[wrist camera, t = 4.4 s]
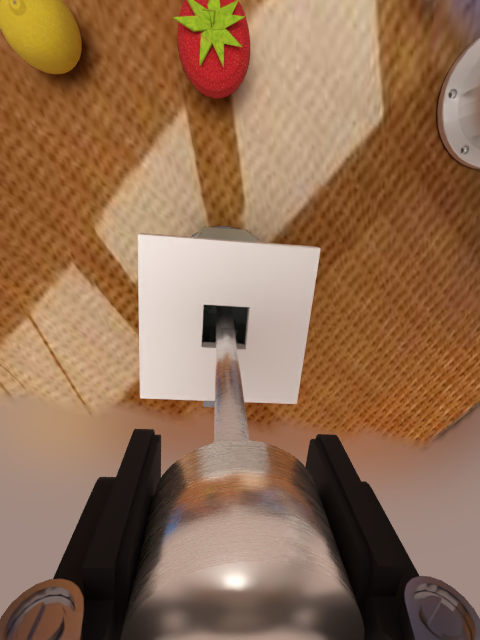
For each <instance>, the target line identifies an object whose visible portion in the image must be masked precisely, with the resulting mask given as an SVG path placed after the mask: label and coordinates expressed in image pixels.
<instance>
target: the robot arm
mask: <svg viewBox="0 0 480 640" xmlns="http://www.w3.org/2000/svg"><path fill="white" fill-rule="evenodd" d="M437 116H438V128H439V132H440V136H441V139H442V141H443V143H444V145H445V148H446V149H447V150H448V152H449V153H450V154H451V156H452V157H454V158H455V159H456V160H457V161H458V162H460V163H461V164H463V165H465V166H467V167H470V168H475V169H480V38H478V39H477V40H476V41H474V42H473V43H472V44H471V45H470V46H468V47H467V48H466V49H465V50H464V51H463V52H462V54H461V55H460V56H459V57H458V58H457V59H456V61H455V62H454V64H453V66H452V67H451V69H450V70H449V72H448V74H447V76H446V79H445V81H444V83H443V86H442V89H441V93H440V97H439V102H438V111H437ZM154 433H155V432H154V430H152V429H151V430H150V429H135V430H134V431H133V434H132V436H131V439H130V442H129V444H128V447H127V450H126V452H125V455H124V458H123V460H122V463H121V466H120V468H119V471H118V474H117V476H116V477H100V478H99V479H98V480H97V482H96V484H95V486H94V488H93V490H92V492H91V495H90V497H89V499H88V501H87V504H86V506H85V508H84V510H83V513H82V515H81V517H80V520H79V522H78V524H77V526H76V529H75V531H74V533H73V535H72V538H71V540H70V542H69V544H68V547H67V549H66V551H65V553H64V555H63V558H62V560H61V562H60V564H59V567H58V569H57V571H56V574H55V576H54V578H53V579H50V580H47V581H44V582H41V583H39V584H36V585H34V586H33V587H31V588H30V589H28V590H26V591H25V592H23V593H22V594H21V595H20V596H19V597H18V598H17V599H16V600H14V601H13V602H12V603H11V605H10V606H9V607H8V609H7V610H6V611H5V613H4V614H3V615H2V616H1V619H0V640H120V639H121V634H122V630H123V625H124V621H125V617H126V612H127V608H128V604H129V600H130V595H131V591H132V587H133V582H134V578H135V573H136V569H137V564H138V560H139V555H140V551H141V547H142V542H143V538H144V533H145V529H146V524H147V520H148V516H149V511H150V507H151V502H152V498H153V494H154V491H155V488H156V486H157V484H158V482H159V480H160V479H161V435H155V434H154ZM306 469H307V470H308V471H309V473H310V474H311V476H312V478H313V480H314V483H315V485H316V488H317V491H318V493H319V496H320V499H321V502H322V505H323V508H324V510H325V513H326V516H327V519H328V522H329V525H330V528H331V530H332V533H333V536H334V539H335V542H336V545H337V548H338V550H339V553H340V556H341V559H342V562H343V565H344V568H345V570H346V573H347V576H348V579H349V582H350V585H351V587H352V590H353V593H354V596H355V599H356V602H357V605H358V607H359V610H360V613H361V616H362V619H363V624H364V640H480V619H479V617H478V615H477V613H476V612H475V610H474V608H473V607H472V606H471V605H470V604H469V602H468V601H467V600H466V599H465V598H464V597H463V596H462V595H461V594H460V593H459V592H457V591H456V590H455V589H454V588H453V587H451V586H449V585H448V584H446V583H444V582H443V581H441V580H438V579H435V578H432V577H427V576H419V574H418V573H417V571H416V569H415V567H414V565H413V564H412V562H411V560H410V558H409V556H408V554H407V553H406V551H405V549H404V547H403V545H402V543H401V541H400V540H399V538H398V536H397V534H396V532H395V530H394V529H393V527H392V525H391V523H390V521H389V519H388V518H387V516H386V514H385V512H384V510H383V508H382V507H381V505H380V503H379V501H378V499H377V497H376V496H375V494H374V492H373V490H372V488H371V487H370V485H369V484H368V483H367V482H361V480H360V478H359V476H358V475H357V473H356V471H355V469H354V467H353V465H352V463H351V461H350V459H349V457H348V455H347V453H346V452H345V450H344V448H343V446H342V444H341V442H340V440H339V438H338V437H337V435H324V434H318V435H317V436H316V439H311V440H310V445H309V450H308V455H307V462H306Z"/></svg>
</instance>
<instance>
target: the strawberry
mask: <svg viewBox="0 0 480 640" xmlns="http://www.w3.org/2000/svg"><path fill="white" fill-rule="evenodd" d="M173 19H175V20H176V21H178V34H177V41H178V51H179V56H180V60H181V63H182V66H183V69H184V71H185V73H186V75H187V77H188V79H189V80H190V82H191V83H192V84H193V86H194V87H195V88H196V89H197V90H198V91H199V92H201V93H203V94H204V95H206V96H208V97H211V98H223V97H227V96H228V95H230V94H232V93H233V92H234V91H235V90H236V89H237V88H238V87H239V86H240V84H241V83H242V81H243V79H244V77H245V75H246V72H247V69H248V65H249V59H250V36H249V29H248V24H247V21H246V16H245V14H244V11H243V9H242V7H241V4H240V3H239V1H238V0H184V3H183V5H182V8H181V11H180V16H179V17H173Z"/></svg>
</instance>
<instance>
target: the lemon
mask: <svg viewBox="0 0 480 640" xmlns="http://www.w3.org/2000/svg"><path fill="white" fill-rule="evenodd" d="M0 28H1V31H2V33H3V34H4V36H5V38H6V39H7V41H8V43H9V44H10V46H11V47H12V48H13V49H14V50H15V51H16V53H17V54H18V55H19V56H20V57H21V58H22V59H23V60H24V61H26V62H27V63H29V64H30V65H31V66H33V67H34V68H36V69H38V70H40V71H43V72H45V73H50V74H63V73H66V72H68V71H70V70H72V69H73V68H74V67H75V66H76V64H77V63H78V61H79V59H80V55H81V51H82V41H81V35H80V31H79V28H78V25H77V23H76V21H75V18H74V16H73V15H72V13H71V12H70V10H69V9H68V7H67V6H66V4H65V3H64V2H63V1H62V0H0Z"/></svg>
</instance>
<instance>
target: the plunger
mask: <svg viewBox="0 0 480 640" xmlns="http://www.w3.org/2000/svg"><path fill="white" fill-rule="evenodd" d="M247 312H248V307H236V306H220V305H204V314H203V334H202V340H203V341H205V342H216V365H215V425H214V427H215V428H214V444H209V445H206V446H203V447H201V448H198V449H196V450H194V451H192V452H190V453H188V454H186V455H185V456H183V457H182V458H180V459H179V460H177V461H176V462H175V463H174V464H173V465H172V466H171V467H169V469H168V470H167V471H166V472H165V473H164V474H163V476H162V477H161V479H160V480H159V482H158V484H157V486H156V488H155V491H154V494H153V498H152V502H151V507H150V511H149V516H148V520H147V524H146V529H145V533H144V538H143V542H142V547H141V551H140V555H139V560H138V564H137V569H136V573H135V578H134V582H133V587H132V591H131V595H130V600H129V604H128V608H127V612H126V617H125V621H124V625H123V630H122V634H121V639H120V640H364V624H363V619H362V616H361V613H360V610H359V607H358V605H357V602H356V599H355V596H354V593H353V590H352V587H351V585H350V582H349V579H348V576H347V573H346V570H345V568H344V565H343V562H342V559H341V556H340V553H339V550H338V548H337V545H336V542H335V539H334V536H333V533H332V530H331V528H330V525H329V522H328V519H327V516H326V513H325V510H324V508H323V505H322V502H321V499H320V496H319V493H318V491H317V488H316V485H315V483H314V480H313V478H312V476H311V474H310V473H309V471H308V470H307V469H306V467H305V466H304V465H303V464H302V463H301V462H300V461H299V460H298V459H296V458H295V457H294V456H292V455H291V454H289V453H288V452H286V451H284V450H282V449H280V448H278V447H276V446H272V445H270V444H266V443H262V442H256V441H249V434H248V426H247V419H246V411H245V404H244V396H243V389H242V381H241V374H240V366H239V359H238V352H237V344H236V343H239V342H241V341H244V340H245V334H246V323H247Z"/></svg>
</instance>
